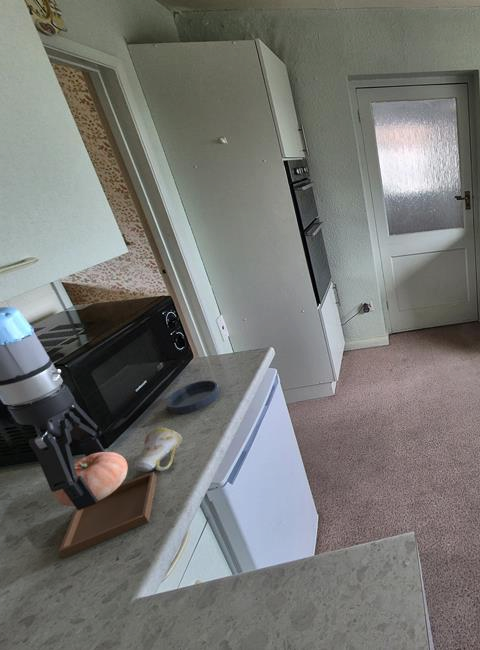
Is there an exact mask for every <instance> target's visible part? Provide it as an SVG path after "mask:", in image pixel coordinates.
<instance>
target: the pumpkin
mask: <svg viewBox="0 0 480 650" xmlns="http://www.w3.org/2000/svg"><path fill="white" fill-rule="evenodd" d="M73 462H74V466H75V469H76V473H77V477H78V476H82V478H83V479H84V481H85V482H86V484H87V485H88V487H89V488H90V490H91V491H92V493H93V494H94V496H95V497H96V499H97V500H98V501H99V500H101V499H103V498H105V497H107V496H108V495H110V494H111V493H112V492H114V491H115V490H116V489H117V488H118V487H119V486H120V485H121V484H123V483H124V481H125V479H126V478H127V475H128V469H129V468H128V467H129V465H128V462H127V460H126V459H125V458H124V456H122V455H121V454H119V453H118V452H115V451H105V452H99V453H94V454H91V455H89V456H87V457H86V456H84V457H81V458H80V459H77V460H75V461H73ZM53 495H54V497H55V499H56V501H58V502H59V503H60V504H62V505H64V506H69V507H75V506H74V504H73V503H72V501H71V500H70V499H69V497H68V496H67V494H66V493H65V492H64V490H63V489H61V490H58V491H55V492H53Z"/></svg>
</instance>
